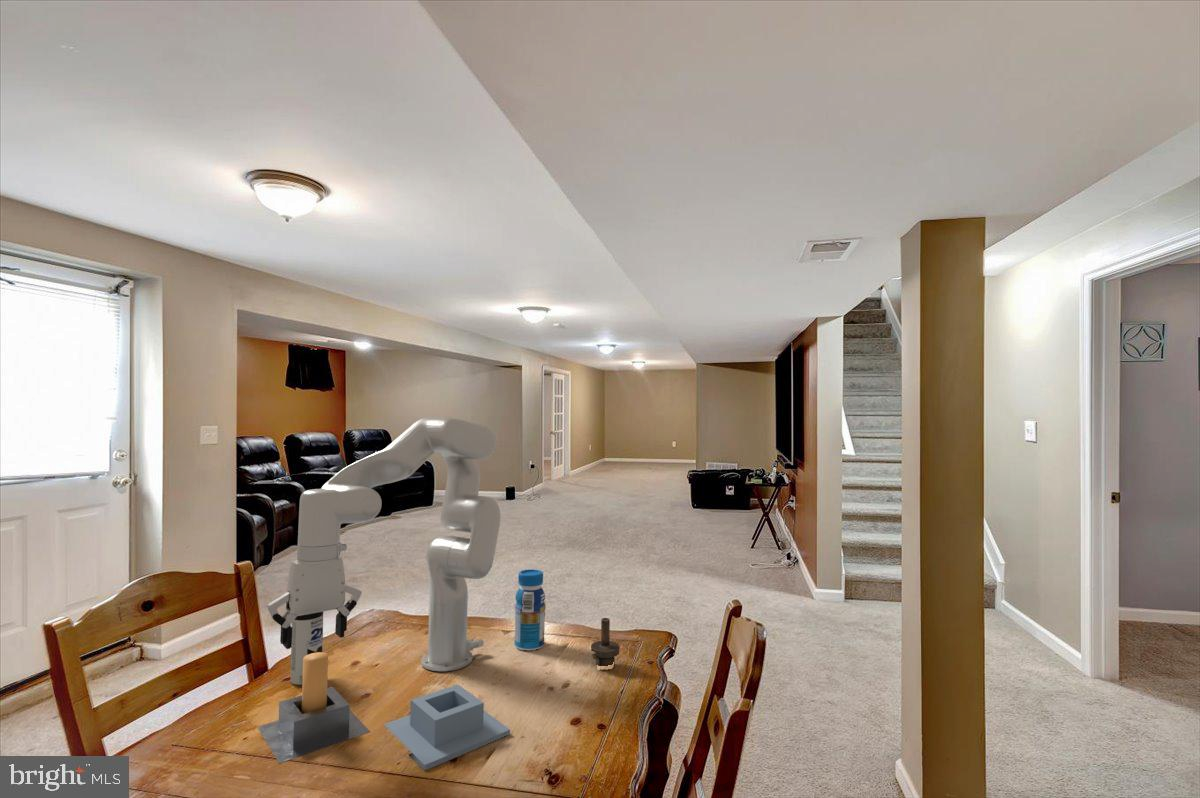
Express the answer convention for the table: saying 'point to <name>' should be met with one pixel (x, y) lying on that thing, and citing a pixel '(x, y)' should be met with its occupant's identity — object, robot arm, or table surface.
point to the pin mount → (310, 727)
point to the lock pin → (314, 682)
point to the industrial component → (605, 646)
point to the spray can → (305, 642)
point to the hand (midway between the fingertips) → (314, 641)
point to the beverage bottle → (530, 611)
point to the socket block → (445, 726)
